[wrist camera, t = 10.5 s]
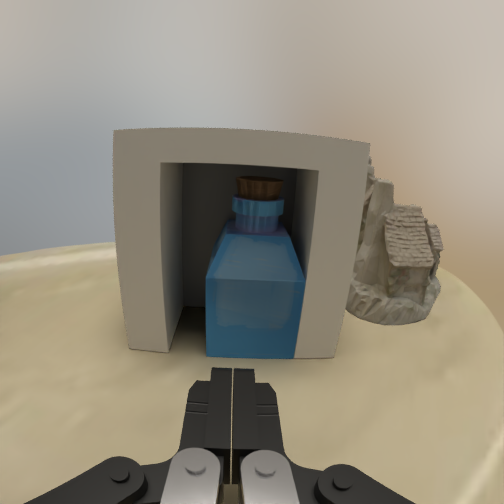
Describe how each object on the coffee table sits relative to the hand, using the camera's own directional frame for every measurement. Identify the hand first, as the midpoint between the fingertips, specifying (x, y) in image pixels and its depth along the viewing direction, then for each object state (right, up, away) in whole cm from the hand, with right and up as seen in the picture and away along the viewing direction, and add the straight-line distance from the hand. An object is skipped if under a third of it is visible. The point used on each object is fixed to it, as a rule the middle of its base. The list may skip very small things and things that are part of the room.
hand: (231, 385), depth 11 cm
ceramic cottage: (+17, 0, +23) cm, 28 cm away
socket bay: (-1, -1, +14) cm, 14 cm away
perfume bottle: (+1, -2, +14) cm, 14 cm away
